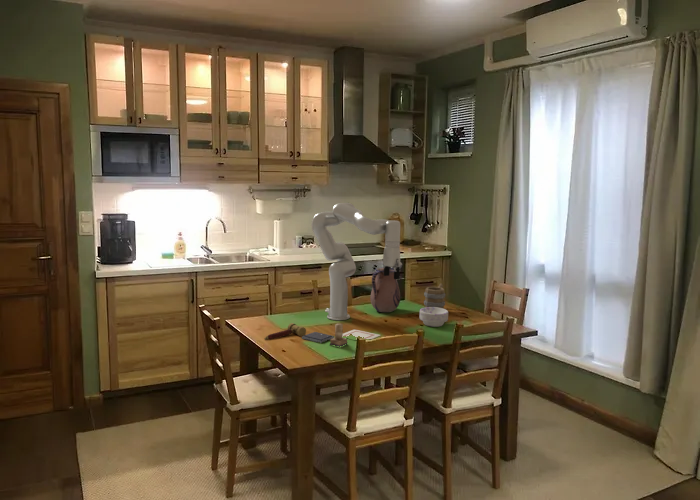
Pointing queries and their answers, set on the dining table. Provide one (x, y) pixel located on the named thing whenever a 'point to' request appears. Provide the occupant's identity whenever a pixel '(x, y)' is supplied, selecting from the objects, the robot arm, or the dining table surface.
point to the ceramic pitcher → (384, 291)
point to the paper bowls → (433, 316)
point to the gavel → (288, 332)
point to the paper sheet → (361, 334)
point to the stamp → (338, 336)
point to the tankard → (434, 297)
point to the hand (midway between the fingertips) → (391, 277)
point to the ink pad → (317, 337)
